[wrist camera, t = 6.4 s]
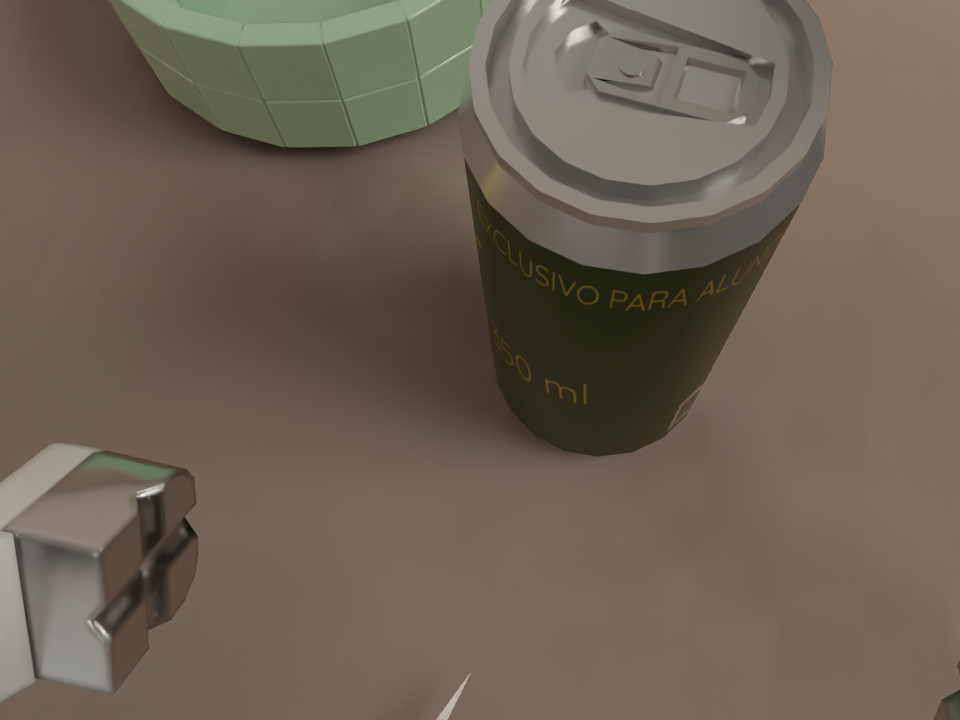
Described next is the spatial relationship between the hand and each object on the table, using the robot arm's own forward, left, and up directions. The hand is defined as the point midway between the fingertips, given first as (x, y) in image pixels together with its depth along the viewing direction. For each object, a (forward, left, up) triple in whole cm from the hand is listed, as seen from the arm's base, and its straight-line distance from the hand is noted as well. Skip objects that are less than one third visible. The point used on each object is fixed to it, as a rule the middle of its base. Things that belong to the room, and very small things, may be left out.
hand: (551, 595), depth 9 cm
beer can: (-3, +7, -13) cm, 15 cm away
